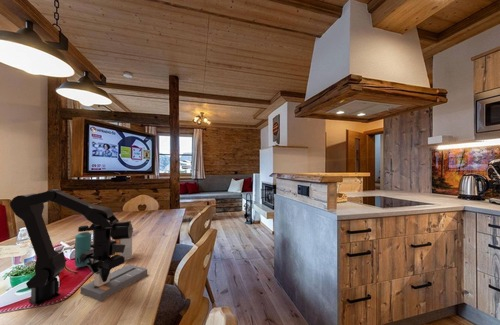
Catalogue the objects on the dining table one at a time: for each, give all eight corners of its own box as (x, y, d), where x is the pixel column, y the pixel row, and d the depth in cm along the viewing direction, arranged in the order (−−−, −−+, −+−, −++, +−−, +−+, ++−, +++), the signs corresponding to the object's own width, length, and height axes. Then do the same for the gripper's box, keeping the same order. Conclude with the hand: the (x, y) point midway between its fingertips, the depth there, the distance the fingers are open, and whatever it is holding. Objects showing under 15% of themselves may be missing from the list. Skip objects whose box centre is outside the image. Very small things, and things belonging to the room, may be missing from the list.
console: (100, 301, 75) (100, 293, 75) (80, 293, 80) (80, 286, 80) (147, 274, 93) (147, 268, 93) (129, 269, 98) (129, 264, 98)
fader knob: (99, 289, 79) (99, 274, 79) (94, 288, 80) (94, 272, 80) (109, 284, 82) (109, 269, 83) (104, 282, 84) (104, 268, 84)
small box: (111, 259, 110) (111, 234, 110) (123, 254, 115) (123, 231, 115) (120, 262, 106) (120, 236, 106) (132, 257, 111) (132, 233, 112)
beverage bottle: (89, 263, 105) (89, 223, 106) (93, 266, 101) (93, 225, 102) (72, 267, 100) (73, 226, 101) (76, 272, 96) (76, 228, 97)
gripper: (137, 236, 85) (137, 275, 85) (107, 231, 93) (107, 267, 92) (109, 246, 75) (109, 290, 75) (79, 240, 82) (78, 279, 82)
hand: (102, 280), depth 81 cm, fingers closed on fader knob, 3 cm apart
